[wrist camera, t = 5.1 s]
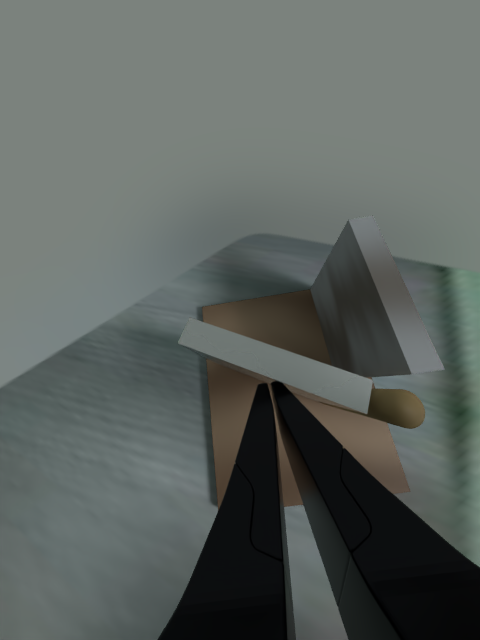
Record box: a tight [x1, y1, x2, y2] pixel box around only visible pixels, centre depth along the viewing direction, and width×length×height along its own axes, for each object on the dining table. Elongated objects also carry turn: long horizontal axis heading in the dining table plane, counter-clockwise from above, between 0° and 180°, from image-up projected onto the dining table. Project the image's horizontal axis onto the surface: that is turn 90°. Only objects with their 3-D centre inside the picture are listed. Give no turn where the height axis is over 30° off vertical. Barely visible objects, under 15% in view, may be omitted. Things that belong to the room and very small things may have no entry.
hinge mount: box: [202, 215, 445, 510], centre depth 11 cm, size 14×12×9 cm
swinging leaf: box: [178, 318, 373, 414], centre depth 11 cm, size 8×1×8 cm, turn 70°
